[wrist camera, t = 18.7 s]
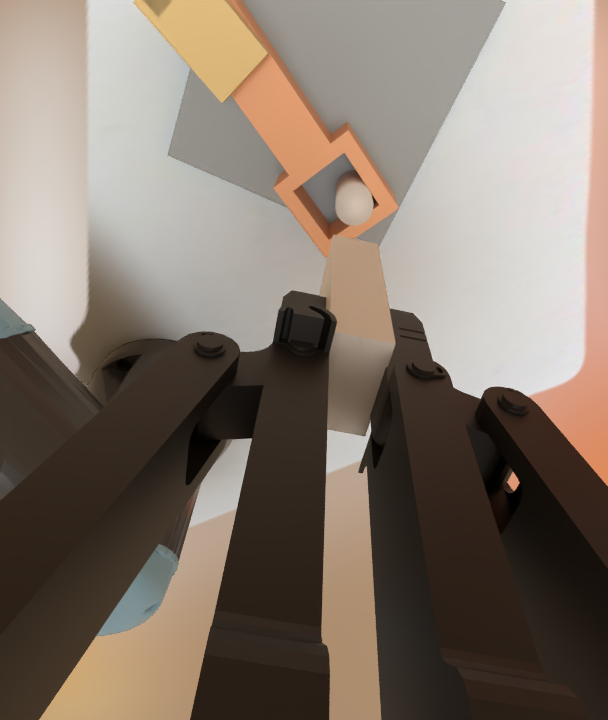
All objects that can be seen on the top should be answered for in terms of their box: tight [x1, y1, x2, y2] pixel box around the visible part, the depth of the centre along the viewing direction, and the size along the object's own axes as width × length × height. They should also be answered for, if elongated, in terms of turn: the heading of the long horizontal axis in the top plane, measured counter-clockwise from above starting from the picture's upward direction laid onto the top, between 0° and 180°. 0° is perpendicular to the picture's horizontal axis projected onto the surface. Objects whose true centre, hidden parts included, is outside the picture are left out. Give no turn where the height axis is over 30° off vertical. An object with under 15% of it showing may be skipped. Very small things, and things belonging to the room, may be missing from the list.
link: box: [228, 0, 399, 258], centre depth 37 cm, size 17×6×4 cm, turn 37°
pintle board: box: [134, 0, 506, 247], centre depth 35 cm, size 18×22×7 cm
